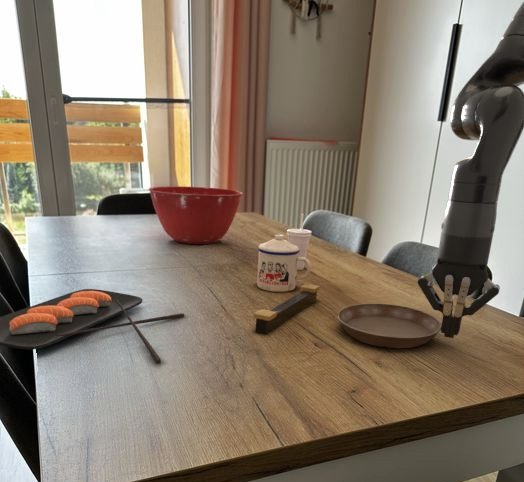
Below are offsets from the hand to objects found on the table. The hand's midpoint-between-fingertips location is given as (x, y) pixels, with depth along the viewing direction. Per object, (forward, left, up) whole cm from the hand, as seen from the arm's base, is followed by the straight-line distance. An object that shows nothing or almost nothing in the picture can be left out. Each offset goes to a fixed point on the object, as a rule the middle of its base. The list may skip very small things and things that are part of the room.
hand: (449, 336), depth 86 cm
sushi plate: (+51, +26, -2) cm, 57 cm away
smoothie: (+43, -37, -2) cm, 57 cm away
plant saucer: (+10, 0, -2) cm, 10 cm away
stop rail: (+29, 0, -2) cm, 29 cm away
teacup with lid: (+38, -17, -2) cm, 42 cm away
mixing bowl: (+84, -52, -2) cm, 99 cm away
